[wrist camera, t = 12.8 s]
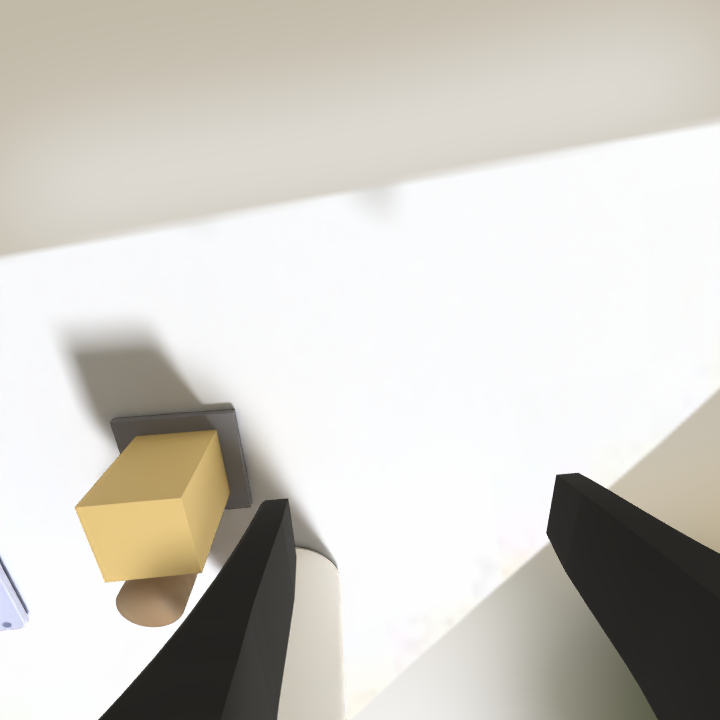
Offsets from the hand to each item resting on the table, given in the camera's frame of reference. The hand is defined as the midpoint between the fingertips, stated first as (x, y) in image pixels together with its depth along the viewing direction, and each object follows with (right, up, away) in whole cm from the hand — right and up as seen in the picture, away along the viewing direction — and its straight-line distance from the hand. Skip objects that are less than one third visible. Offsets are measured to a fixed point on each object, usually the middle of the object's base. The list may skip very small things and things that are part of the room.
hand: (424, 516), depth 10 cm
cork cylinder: (-12, -6, +12) cm, 18 cm away
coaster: (-11, -1, +10) cm, 15 cm away
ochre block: (-11, -1, +10) cm, 15 cm away
